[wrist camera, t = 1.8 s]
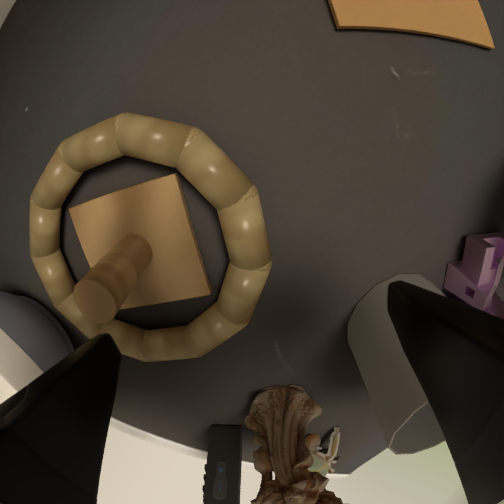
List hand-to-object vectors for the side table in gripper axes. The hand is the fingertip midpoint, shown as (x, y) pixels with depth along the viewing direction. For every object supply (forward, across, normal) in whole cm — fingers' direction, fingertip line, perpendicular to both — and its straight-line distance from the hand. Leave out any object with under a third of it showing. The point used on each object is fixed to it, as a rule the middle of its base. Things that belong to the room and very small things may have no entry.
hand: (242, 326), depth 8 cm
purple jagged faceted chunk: (+10, -18, +8) cm, 22 cm away
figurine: (+10, 0, +17) cm, 20 cm away
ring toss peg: (+10, +7, 0) cm, 12 cm away
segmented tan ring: (+9, +7, 0) cm, 11 cm away
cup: (+10, -10, +10) cm, 17 cm away
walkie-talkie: (+10, +7, +22) cm, 25 cm away
